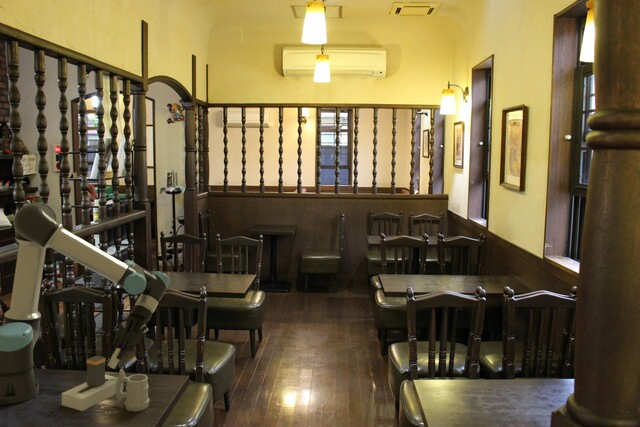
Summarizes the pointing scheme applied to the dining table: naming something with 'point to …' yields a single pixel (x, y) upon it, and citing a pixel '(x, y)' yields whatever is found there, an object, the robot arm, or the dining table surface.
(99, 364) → the lever
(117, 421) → the dining table surface
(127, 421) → the dining table surface
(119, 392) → the mug
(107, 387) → the switch box
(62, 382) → the dining table surface
